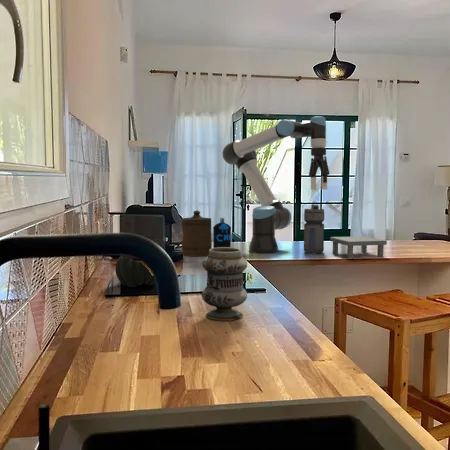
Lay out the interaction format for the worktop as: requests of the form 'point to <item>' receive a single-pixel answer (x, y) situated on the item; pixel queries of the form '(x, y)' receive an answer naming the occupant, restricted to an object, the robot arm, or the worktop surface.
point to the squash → (132, 272)
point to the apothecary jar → (224, 283)
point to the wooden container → (196, 235)
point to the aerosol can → (221, 234)
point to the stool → (358, 244)
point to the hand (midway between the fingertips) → (318, 189)
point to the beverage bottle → (314, 230)
